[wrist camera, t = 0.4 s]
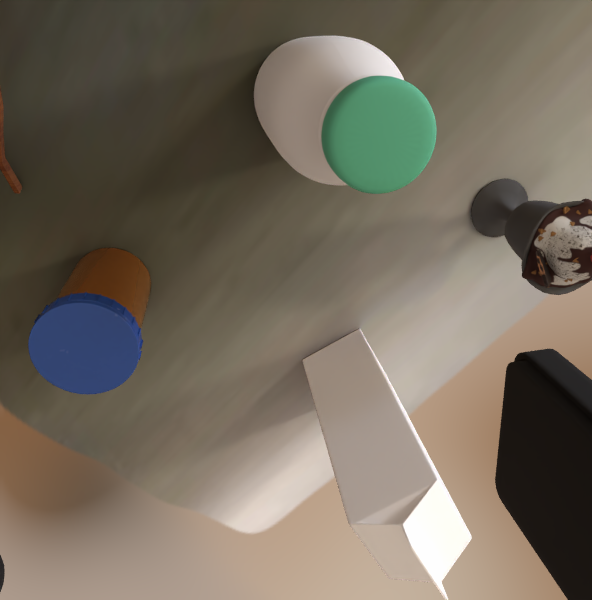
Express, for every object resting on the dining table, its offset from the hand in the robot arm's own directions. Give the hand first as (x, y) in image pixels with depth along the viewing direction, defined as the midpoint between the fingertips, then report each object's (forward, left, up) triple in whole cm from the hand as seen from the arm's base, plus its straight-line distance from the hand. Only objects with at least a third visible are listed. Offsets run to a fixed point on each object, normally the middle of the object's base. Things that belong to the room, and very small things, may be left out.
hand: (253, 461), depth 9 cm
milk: (+18, +14, -34) cm, 41 cm away
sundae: (+1, +23, -34) cm, 42 cm away
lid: (+13, -7, -24) cm, 28 cm away
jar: (+13, -7, -34) cm, 37 cm away
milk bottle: (-4, +5, -34) cm, 35 cm away
